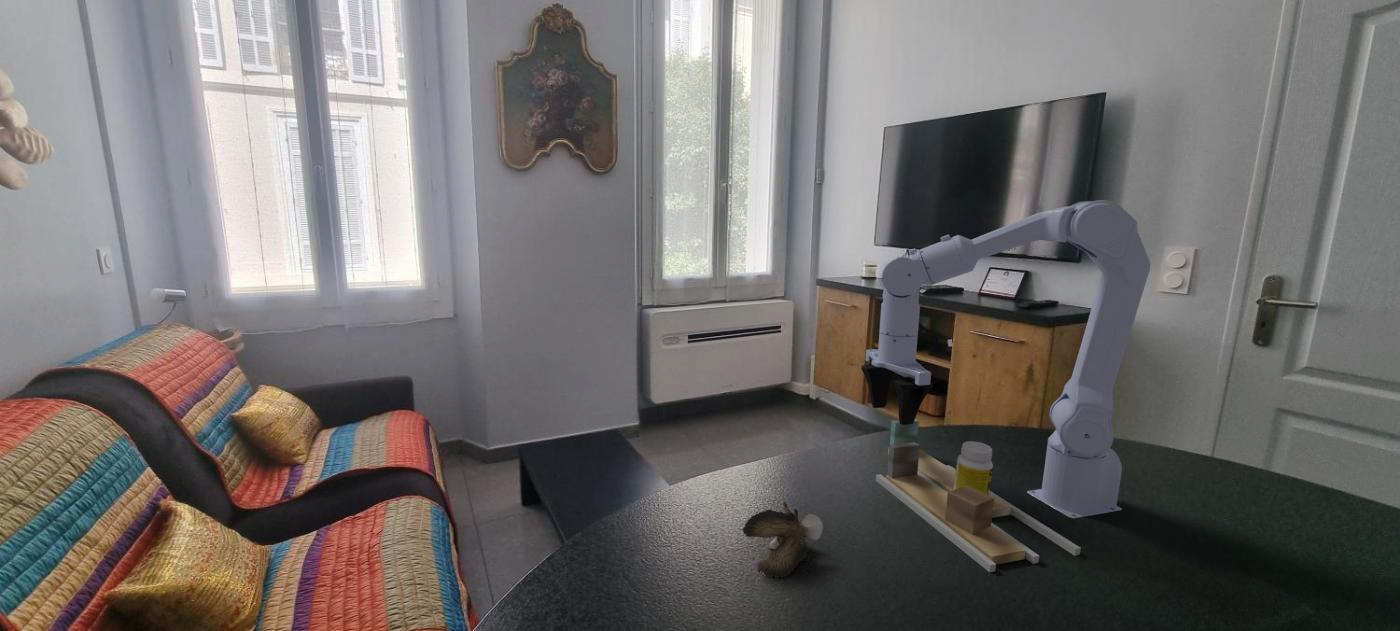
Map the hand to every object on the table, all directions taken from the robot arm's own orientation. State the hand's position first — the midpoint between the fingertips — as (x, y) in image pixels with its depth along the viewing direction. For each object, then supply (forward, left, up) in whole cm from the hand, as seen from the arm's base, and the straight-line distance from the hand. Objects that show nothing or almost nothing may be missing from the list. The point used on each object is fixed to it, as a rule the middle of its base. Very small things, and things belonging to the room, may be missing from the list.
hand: (892, 415), depth 93 cm
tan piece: (-6, +6, -9) cm, 13 cm away
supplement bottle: (-6, +12, -10) cm, 16 cm away
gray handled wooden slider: (+1, +15, -9) cm, 18 cm away
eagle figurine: (+26, +17, -10) cm, 33 cm away
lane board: (-3, +15, -10) cm, 18 cm away
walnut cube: (+1, +19, -8) cm, 21 cm away
